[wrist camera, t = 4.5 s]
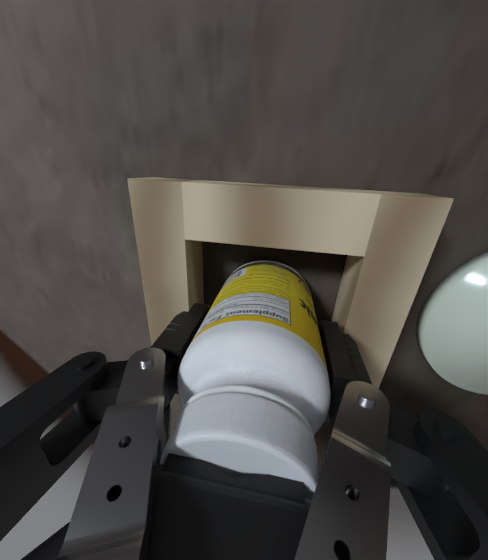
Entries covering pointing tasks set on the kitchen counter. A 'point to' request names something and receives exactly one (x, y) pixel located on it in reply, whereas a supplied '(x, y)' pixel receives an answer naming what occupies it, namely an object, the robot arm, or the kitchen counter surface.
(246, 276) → the supplement bottle
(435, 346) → the pale green pebble
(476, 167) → the kitchen counter surface
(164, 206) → the pocket block
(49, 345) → the kitchen counter surface
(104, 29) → the kitchen counter surface
